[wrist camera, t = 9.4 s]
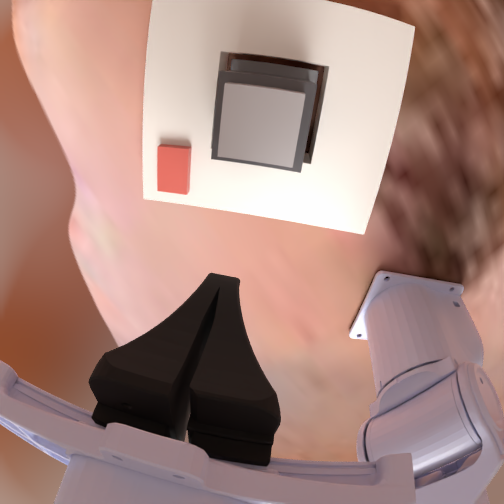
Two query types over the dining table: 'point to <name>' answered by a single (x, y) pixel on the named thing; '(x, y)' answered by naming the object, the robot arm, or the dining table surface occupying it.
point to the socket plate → (327, 117)
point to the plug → (262, 119)
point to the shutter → (274, 69)
